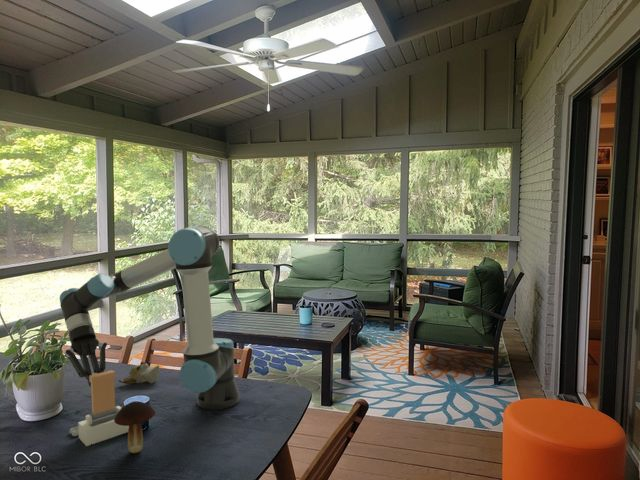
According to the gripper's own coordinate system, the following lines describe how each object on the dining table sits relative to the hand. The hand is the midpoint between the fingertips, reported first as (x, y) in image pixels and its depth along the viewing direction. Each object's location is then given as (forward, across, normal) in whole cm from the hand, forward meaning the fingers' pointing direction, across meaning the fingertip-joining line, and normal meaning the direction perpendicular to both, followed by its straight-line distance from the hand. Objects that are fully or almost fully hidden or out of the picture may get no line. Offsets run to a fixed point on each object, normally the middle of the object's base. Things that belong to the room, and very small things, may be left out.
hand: (98, 393), depth 144 cm
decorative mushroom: (+23, -4, +5) cm, 23 cm away
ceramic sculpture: (-13, -27, -32) cm, 44 cm away
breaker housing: (+9, 0, -9) cm, 13 cm away
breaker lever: (+6, -1, -3) cm, 7 cm away
